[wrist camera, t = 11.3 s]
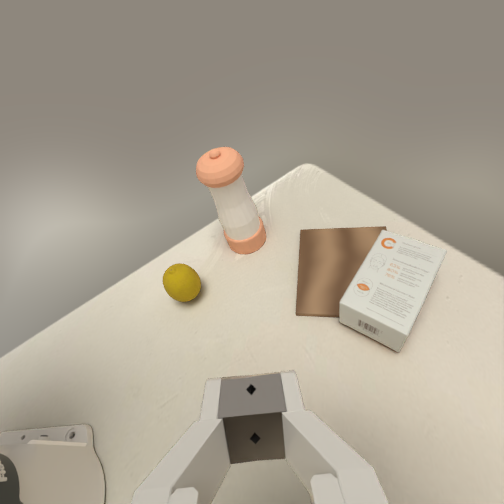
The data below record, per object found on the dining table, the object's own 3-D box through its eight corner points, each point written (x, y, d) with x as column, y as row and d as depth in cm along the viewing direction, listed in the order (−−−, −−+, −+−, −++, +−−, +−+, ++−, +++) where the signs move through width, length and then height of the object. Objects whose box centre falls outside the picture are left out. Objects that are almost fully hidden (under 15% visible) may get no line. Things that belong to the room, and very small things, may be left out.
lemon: (189, 276, 50) (169, 250, 44) (213, 286, 48) (195, 260, 42) (171, 302, 48) (146, 278, 42) (195, 314, 46) (173, 291, 39)
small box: (398, 354, 35) (435, 275, 39) (408, 336, 30) (449, 249, 34) (337, 321, 39) (377, 254, 43) (337, 301, 34) (382, 227, 39)
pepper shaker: (273, 232, 52) (250, 140, 37) (250, 260, 49) (214, 173, 35) (244, 219, 56) (212, 131, 41) (221, 244, 53) (177, 160, 38)
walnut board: (296, 315, 41) (295, 313, 41) (300, 232, 51) (300, 229, 50) (400, 319, 38) (401, 317, 37) (385, 229, 47) (385, 226, 46)
